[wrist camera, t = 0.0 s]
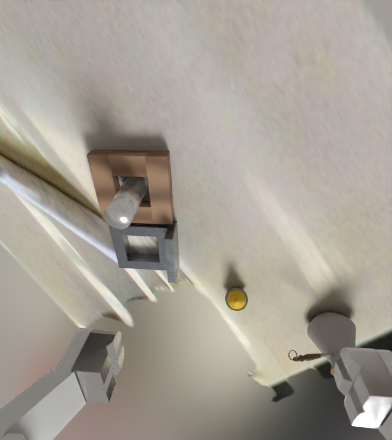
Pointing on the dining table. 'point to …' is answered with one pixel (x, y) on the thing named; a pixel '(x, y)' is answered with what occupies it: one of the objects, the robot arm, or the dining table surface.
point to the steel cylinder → (125, 203)
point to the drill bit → (236, 299)
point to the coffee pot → (329, 337)
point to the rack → (163, 261)
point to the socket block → (135, 167)
